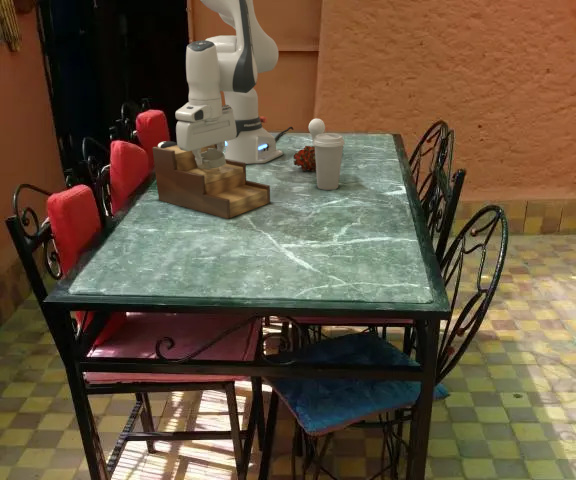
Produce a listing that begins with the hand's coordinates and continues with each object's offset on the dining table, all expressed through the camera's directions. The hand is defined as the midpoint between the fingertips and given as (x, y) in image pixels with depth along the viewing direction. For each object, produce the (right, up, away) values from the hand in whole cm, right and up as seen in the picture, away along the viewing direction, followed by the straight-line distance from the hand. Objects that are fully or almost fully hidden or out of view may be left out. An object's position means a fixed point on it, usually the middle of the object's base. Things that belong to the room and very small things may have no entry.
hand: (209, 161), depth 180 cm
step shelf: (0, -10, +6) cm, 11 cm away
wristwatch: (0, -2, +1) cm, 2 cm away
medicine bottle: (-15, +2, +24) cm, 29 cm away
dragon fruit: (+29, +9, +34) cm, 45 cm away
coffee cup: (+35, -2, +17) cm, 39 cm away
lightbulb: (+33, +25, +58) cm, 71 cm away
